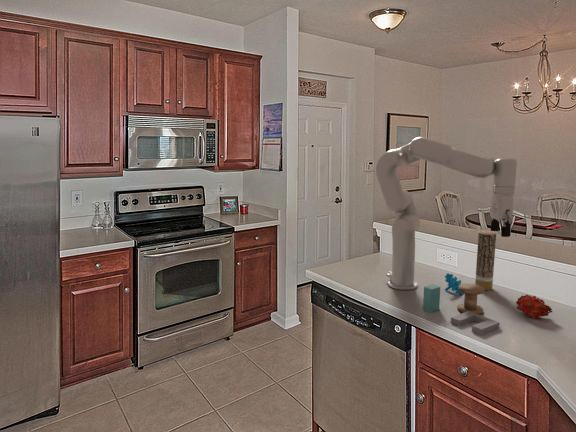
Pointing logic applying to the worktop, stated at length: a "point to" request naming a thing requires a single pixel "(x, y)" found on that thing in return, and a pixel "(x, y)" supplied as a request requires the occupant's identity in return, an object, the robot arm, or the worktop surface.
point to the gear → (453, 283)
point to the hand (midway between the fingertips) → (499, 233)
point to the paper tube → (485, 258)
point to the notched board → (483, 322)
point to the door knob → (470, 298)
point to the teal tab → (431, 298)
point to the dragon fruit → (533, 306)
